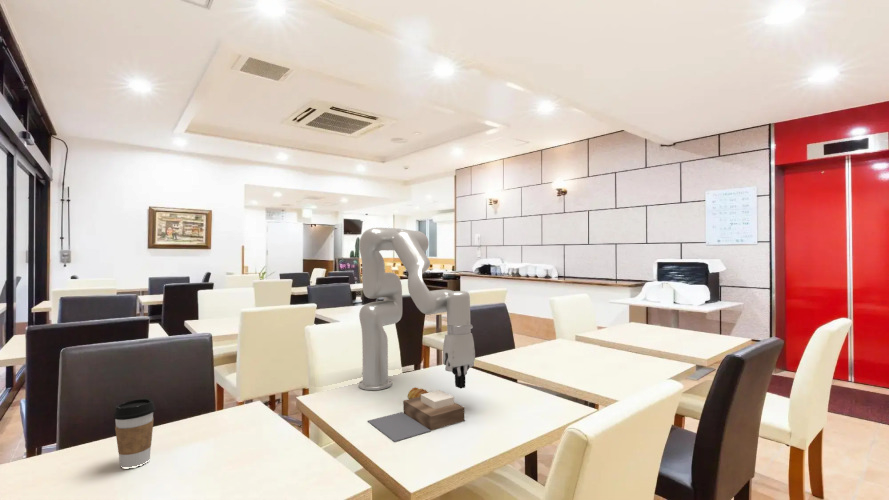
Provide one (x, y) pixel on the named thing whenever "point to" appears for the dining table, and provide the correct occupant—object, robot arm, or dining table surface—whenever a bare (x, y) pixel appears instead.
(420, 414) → the serving board
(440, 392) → the tile
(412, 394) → the pastry
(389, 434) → the mat
